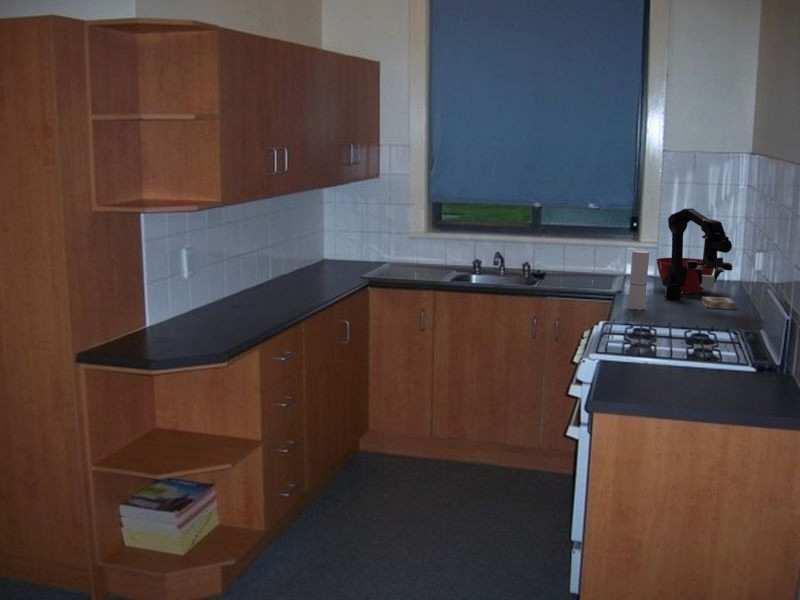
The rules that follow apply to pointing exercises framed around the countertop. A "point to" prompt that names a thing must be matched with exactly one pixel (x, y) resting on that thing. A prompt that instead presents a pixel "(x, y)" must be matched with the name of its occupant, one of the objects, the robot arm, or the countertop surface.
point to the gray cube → (707, 281)
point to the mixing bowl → (692, 277)
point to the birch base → (718, 302)
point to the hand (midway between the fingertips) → (707, 284)
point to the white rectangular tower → (638, 280)
